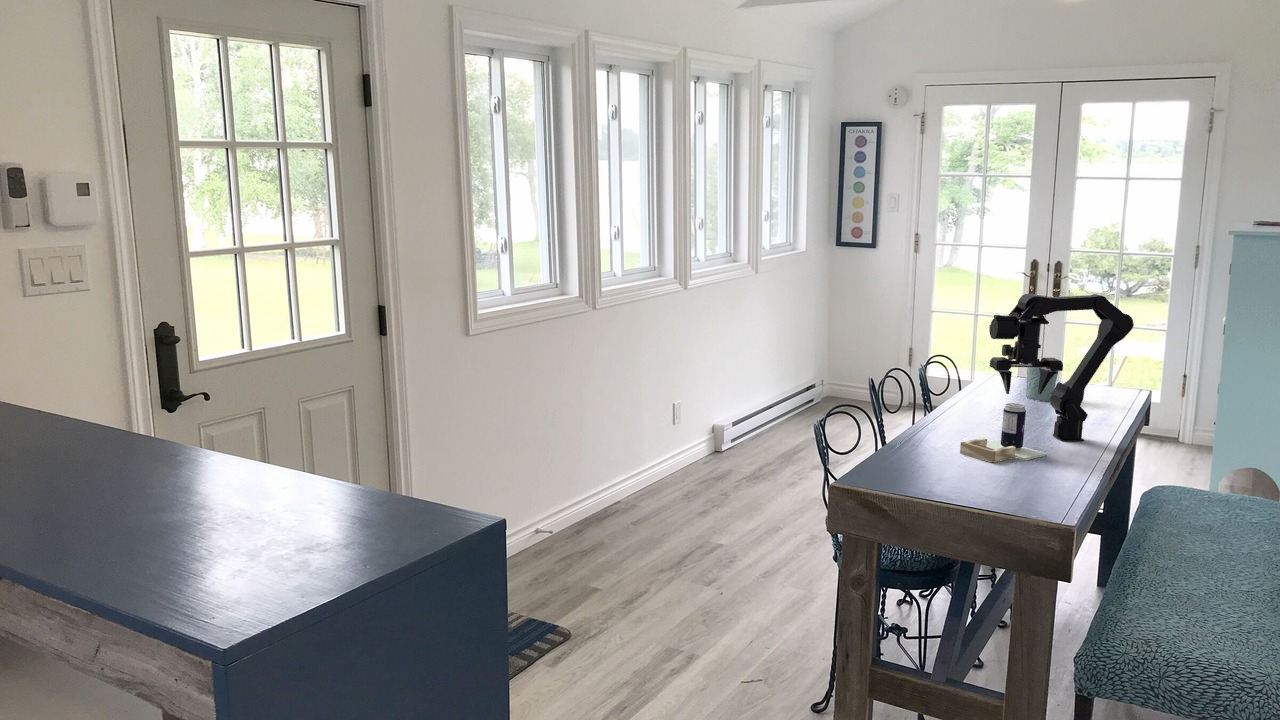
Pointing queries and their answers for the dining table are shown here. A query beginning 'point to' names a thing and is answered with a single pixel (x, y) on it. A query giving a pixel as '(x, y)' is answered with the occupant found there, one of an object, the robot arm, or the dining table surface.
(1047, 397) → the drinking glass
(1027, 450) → the sage pad
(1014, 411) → the beverage can
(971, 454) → the frame
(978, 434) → the dining table surface
